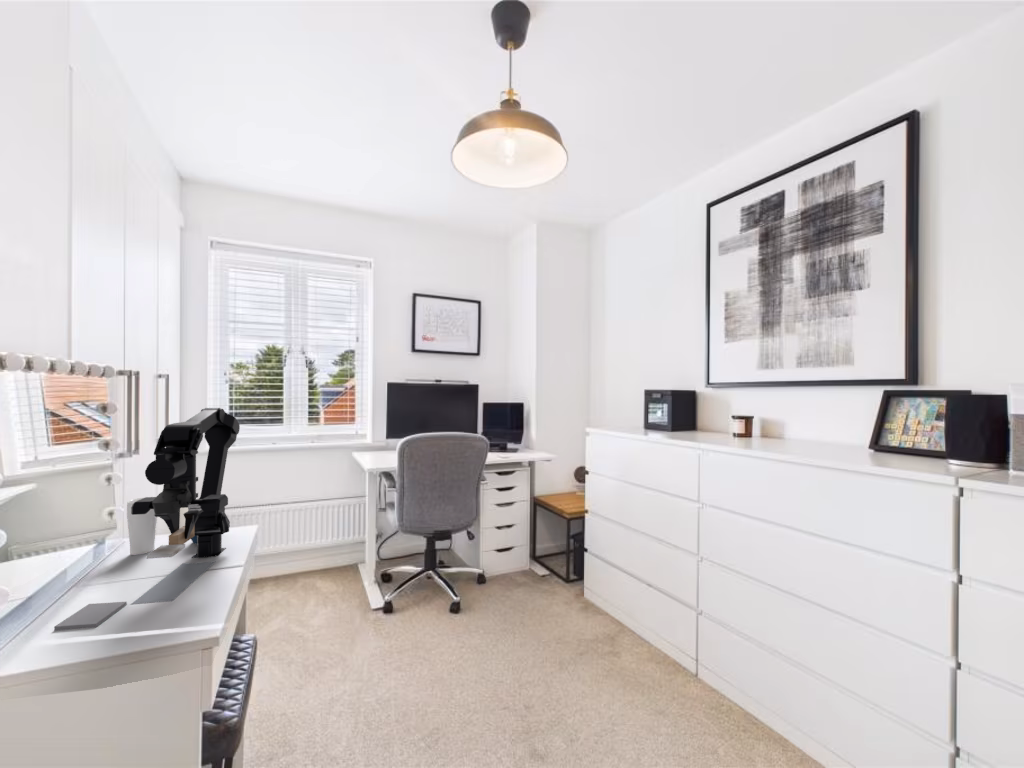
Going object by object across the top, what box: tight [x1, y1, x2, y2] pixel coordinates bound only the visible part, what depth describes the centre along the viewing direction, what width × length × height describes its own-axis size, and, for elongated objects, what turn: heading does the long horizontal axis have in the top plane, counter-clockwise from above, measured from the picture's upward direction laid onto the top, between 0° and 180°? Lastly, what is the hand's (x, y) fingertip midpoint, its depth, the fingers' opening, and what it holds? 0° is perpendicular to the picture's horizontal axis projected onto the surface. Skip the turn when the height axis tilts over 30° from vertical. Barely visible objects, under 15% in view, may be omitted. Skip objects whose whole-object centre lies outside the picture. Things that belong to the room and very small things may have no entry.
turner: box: [146, 525, 195, 560], centre depth 107 cm, size 14×5×3 cm, turn 12°
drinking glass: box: [126, 497, 158, 556], centre depth 127 cm, size 7×7×15 cm
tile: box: [53, 601, 128, 632], centre depth 92 cm, size 2×7×9 cm
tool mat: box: [131, 561, 217, 605], centre depth 109 cm, size 22×8×1 cm, turn 12°
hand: (181, 538), depth 110 cm, fingers closed on turner, 2 cm apart
